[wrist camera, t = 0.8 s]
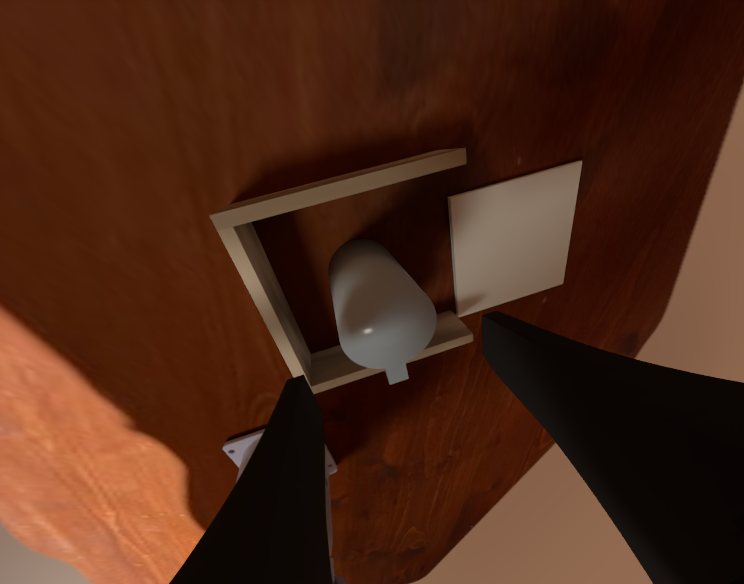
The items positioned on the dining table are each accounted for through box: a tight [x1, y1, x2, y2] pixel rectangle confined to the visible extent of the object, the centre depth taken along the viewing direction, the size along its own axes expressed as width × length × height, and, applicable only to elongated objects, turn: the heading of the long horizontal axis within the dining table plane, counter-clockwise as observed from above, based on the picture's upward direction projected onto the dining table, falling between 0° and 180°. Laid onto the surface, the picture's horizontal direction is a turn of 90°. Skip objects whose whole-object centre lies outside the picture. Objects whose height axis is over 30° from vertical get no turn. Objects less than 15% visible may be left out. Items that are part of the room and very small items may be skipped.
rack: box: [209, 148, 473, 394], centre depth 17 cm, size 13×13×4 cm
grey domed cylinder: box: [328, 239, 437, 385], centre depth 16 cm, size 7×5×8 cm
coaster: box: [448, 161, 582, 317], centre depth 20 cm, size 10×10×1 cm
